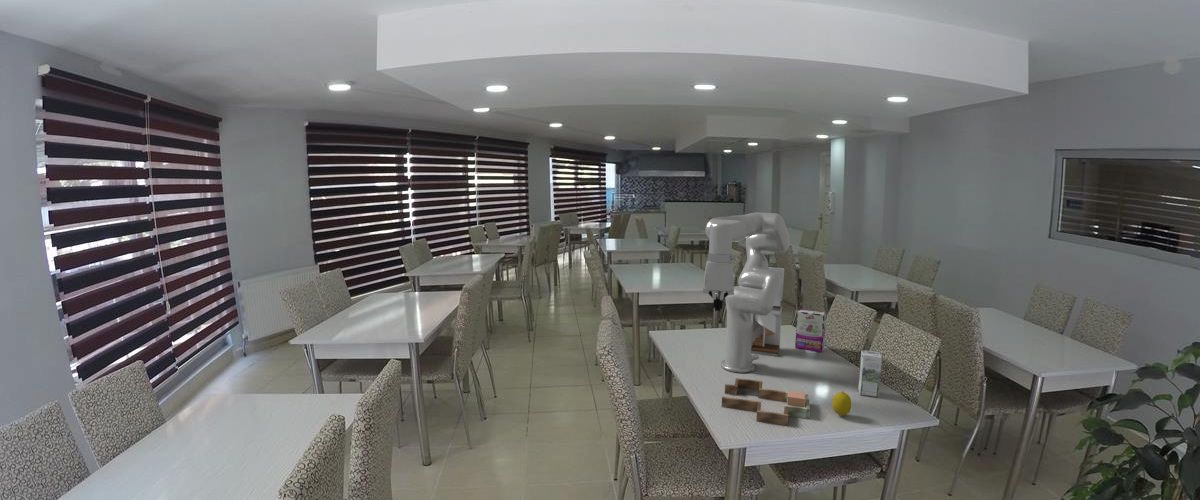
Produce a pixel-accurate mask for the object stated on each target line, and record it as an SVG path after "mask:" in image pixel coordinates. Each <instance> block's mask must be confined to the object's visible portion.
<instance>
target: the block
mask: <svg viewBox="0 0 1200 500" xmlns="http://www.w3.org/2000/svg"><path fill="white" fill-rule="evenodd" d="M787 392H788V395H787V402H786V405H790V406H797V407H805V396H804V394H805V392H799V391H792V390H787Z"/></svg>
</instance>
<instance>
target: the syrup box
mask: <svg viewBox="0 0 1200 500" xmlns="http://www.w3.org/2000/svg"><path fill="white" fill-rule="evenodd" d="M860 352H861V353H860V365H859V372H858V373H859V374H858V375H859V376H858V385H857V389H858V393H859V396H864V397H865V396H866V397H872V398H879V391H880V380H881V372H882V362H883V357H882V355H881V353H880V352H879V351H874V350H863V349H862V350H861V351H860Z"/></svg>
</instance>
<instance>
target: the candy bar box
mask: <svg viewBox="0 0 1200 500" xmlns="http://www.w3.org/2000/svg"><path fill="white" fill-rule="evenodd" d="M826 323H827V312H823V311H815V310H814V311H813V310H806V309H798V310H797V311H796V324H795V325H796V326H795V329H796V330H795V341H794V342H795V343H794V344H795V345H794V348H795V349H796V350H797V349H798V350H803V351H808V352H809V351H810V352H817V353H820V354H821V353H823V352H824V350H825V343H826V342H825V341H826V339H825V338H826Z"/></svg>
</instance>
